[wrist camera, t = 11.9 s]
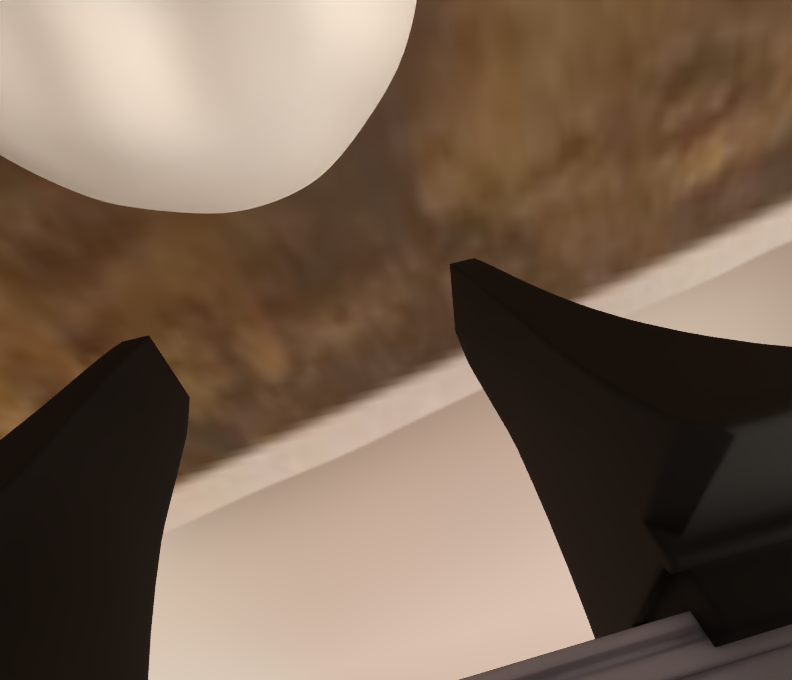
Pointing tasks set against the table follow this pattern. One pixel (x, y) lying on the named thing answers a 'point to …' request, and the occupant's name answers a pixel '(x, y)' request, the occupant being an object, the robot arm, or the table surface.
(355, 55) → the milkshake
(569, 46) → the table surface
